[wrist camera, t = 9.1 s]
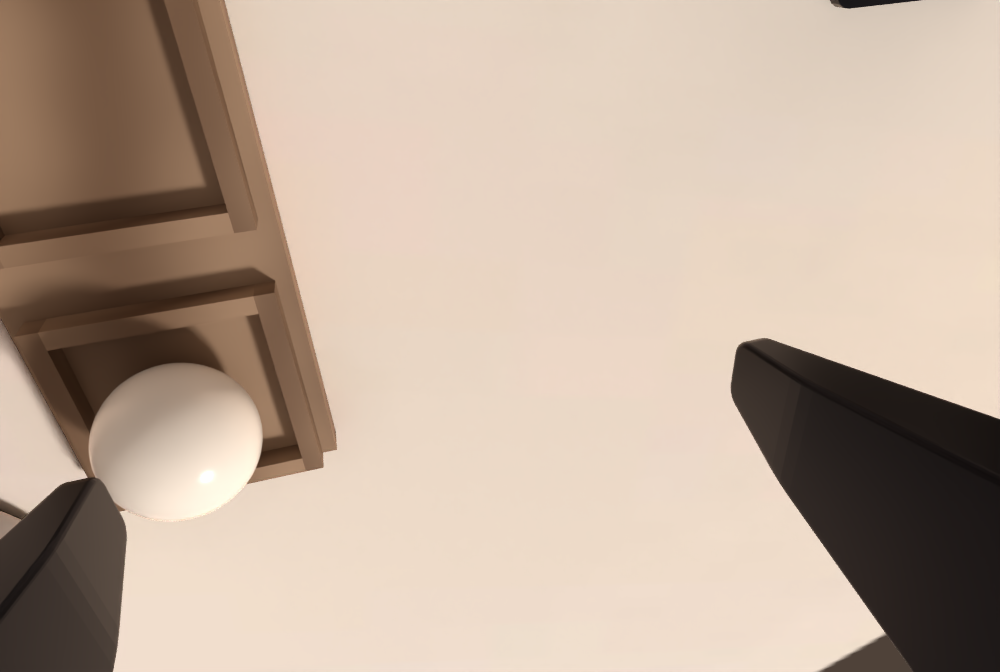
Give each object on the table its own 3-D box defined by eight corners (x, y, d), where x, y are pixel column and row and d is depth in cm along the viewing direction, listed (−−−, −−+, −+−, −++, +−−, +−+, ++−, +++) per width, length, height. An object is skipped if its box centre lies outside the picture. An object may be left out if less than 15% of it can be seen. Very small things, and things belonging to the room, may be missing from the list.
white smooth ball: (245, 321, 21) (232, 410, 17) (280, 434, 23) (276, 533, 19) (85, 349, 20) (35, 449, 16) (140, 462, 22) (107, 572, 19)
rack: (207, -66, 16) (197, -65, 15) (335, 432, 25) (337, 464, 24) (-165, -37, 15) (-216, -33, 14) (106, 479, 24) (94, 516, 22)
